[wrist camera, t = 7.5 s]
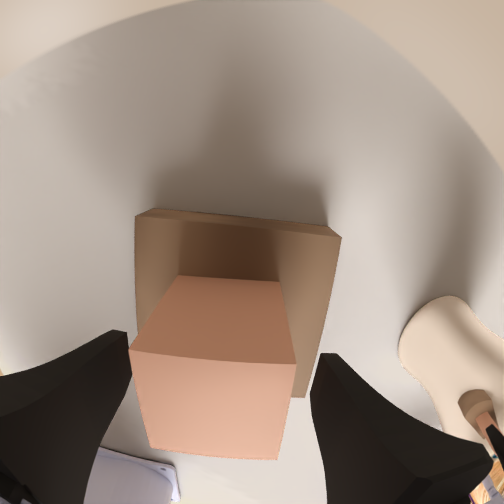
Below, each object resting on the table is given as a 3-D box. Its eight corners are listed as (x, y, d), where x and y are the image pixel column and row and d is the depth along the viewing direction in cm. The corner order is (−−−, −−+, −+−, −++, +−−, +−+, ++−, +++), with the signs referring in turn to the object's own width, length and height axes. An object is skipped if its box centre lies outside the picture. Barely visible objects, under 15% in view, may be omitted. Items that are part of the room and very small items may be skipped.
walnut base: (156, 350, 18) (142, 379, 15) (155, 207, 15) (135, 216, 12) (298, 366, 18) (304, 397, 15) (325, 224, 15) (341, 237, 13)
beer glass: (375, 376, 18) (460, 571, 3) (414, 281, 16) (594, 464, 1) (448, 376, 18) (541, 516, 3) (485, 294, 16) (627, 415, 2)
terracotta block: (181, 357, 14) (150, 447, 9) (177, 275, 13) (128, 349, 7) (270, 364, 14) (277, 459, 9) (279, 281, 13) (296, 364, 7)
